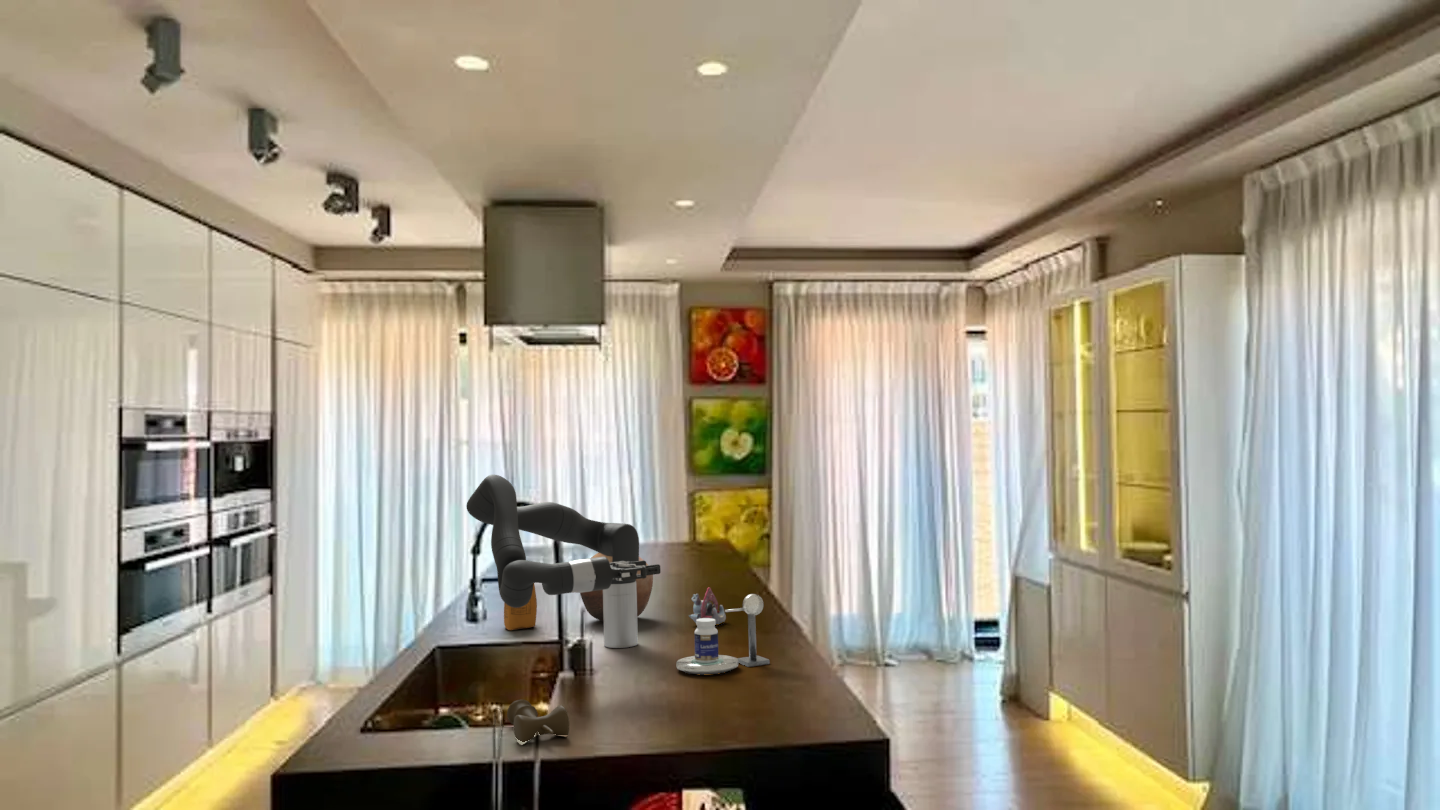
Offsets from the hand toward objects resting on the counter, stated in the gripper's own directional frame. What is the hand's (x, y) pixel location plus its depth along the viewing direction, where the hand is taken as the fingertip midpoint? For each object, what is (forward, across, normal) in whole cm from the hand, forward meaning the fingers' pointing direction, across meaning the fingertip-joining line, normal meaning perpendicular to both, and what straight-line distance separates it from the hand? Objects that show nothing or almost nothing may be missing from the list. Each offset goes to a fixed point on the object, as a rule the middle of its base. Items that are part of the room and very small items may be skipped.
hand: (652, 566), depth 236 cm
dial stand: (+23, +1, -26) cm, 35 cm away
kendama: (-39, +32, -25) cm, 56 cm away
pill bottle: (+12, +2, -24) cm, 27 cm away
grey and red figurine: (+39, -53, -28) cm, 71 cm away
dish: (+12, +2, -26) cm, 29 cm away
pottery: (+17, -74, -27) cm, 80 cm away
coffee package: (-11, -83, -26) cm, 87 cm away
